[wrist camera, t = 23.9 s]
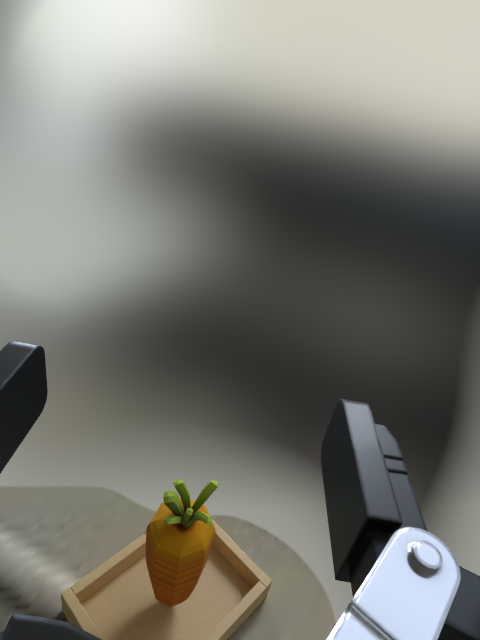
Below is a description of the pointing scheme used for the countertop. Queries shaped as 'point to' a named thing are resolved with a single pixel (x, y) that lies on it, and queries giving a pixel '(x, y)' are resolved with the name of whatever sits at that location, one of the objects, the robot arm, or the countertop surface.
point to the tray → (156, 618)
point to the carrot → (179, 543)
